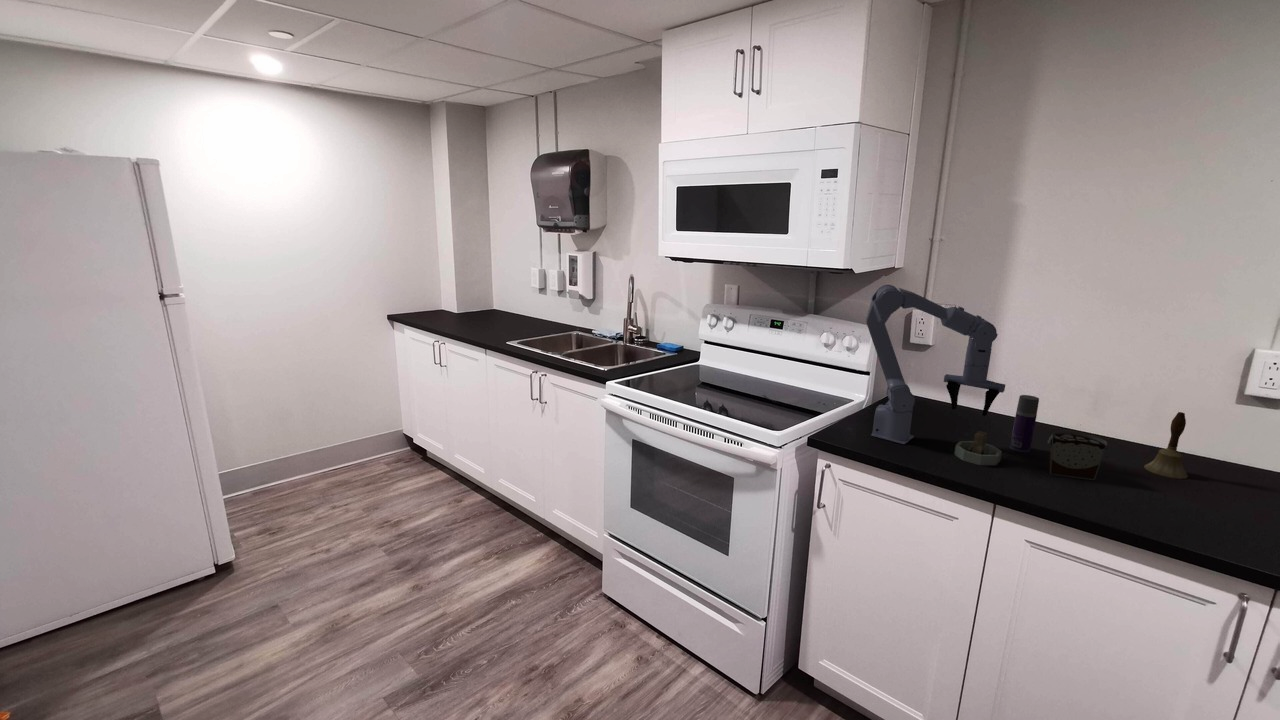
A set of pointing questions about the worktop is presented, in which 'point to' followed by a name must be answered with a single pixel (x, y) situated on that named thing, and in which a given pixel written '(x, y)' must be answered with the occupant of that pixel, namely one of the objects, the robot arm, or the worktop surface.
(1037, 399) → the container
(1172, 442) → the hand bell
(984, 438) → the brown wooden block
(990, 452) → the grey shallow bowl
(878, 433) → the robot arm
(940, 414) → the worktop surface
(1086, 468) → the food container
